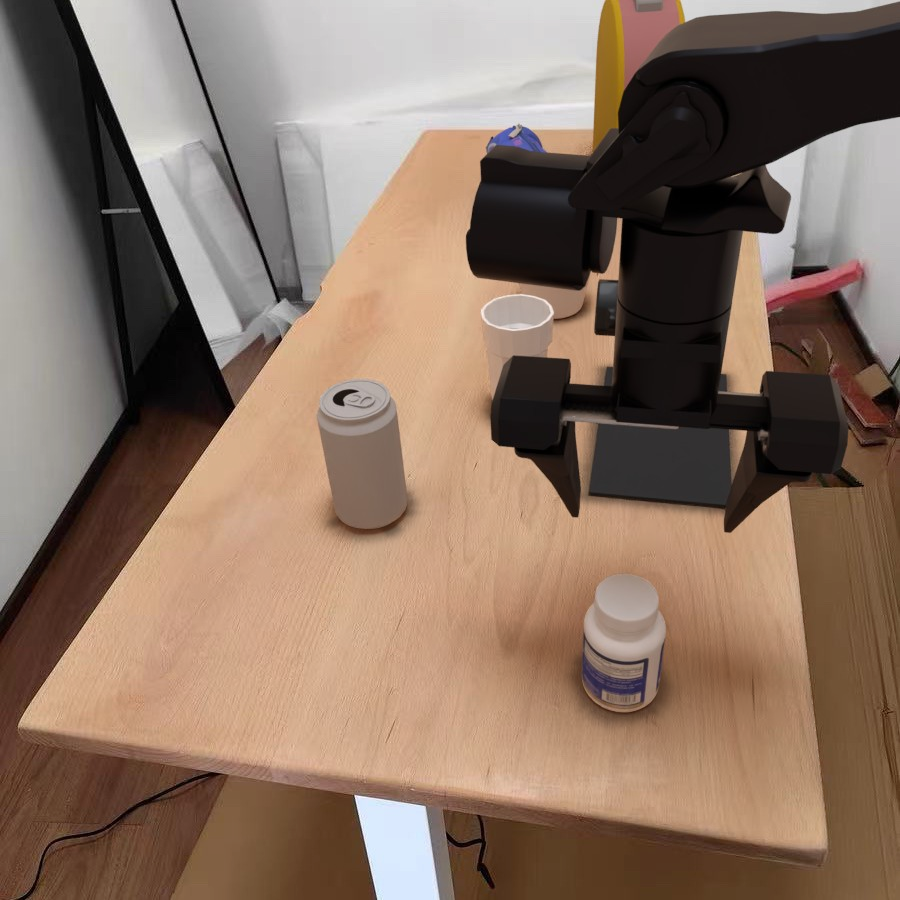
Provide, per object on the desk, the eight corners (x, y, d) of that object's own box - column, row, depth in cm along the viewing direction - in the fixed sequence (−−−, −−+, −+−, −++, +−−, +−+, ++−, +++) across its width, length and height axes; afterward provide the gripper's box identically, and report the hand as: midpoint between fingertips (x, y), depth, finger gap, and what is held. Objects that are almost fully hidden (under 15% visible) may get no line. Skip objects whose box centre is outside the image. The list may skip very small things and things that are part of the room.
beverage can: (360, 478, 79) (341, 368, 71) (421, 496, 76) (409, 384, 69) (321, 523, 75) (297, 410, 67) (385, 543, 72) (368, 429, 65)
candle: (579, 283, 105) (581, 234, 101) (601, 319, 98) (604, 268, 94) (507, 292, 105) (506, 244, 101) (524, 329, 98) (523, 279, 94)
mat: (606, 369, 90) (606, 366, 90) (725, 377, 88) (726, 374, 88) (588, 495, 75) (588, 491, 75) (732, 509, 73) (732, 505, 72)
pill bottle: (612, 639, 63) (619, 553, 57) (673, 680, 60) (687, 593, 54) (565, 684, 60) (567, 597, 55) (627, 729, 57) (636, 642, 51)
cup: (478, 396, 88) (473, 300, 81) (541, 385, 89) (541, 289, 82) (495, 434, 83) (490, 335, 76) (561, 422, 84) (563, 323, 77)
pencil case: (485, 184, 132) (483, 120, 126) (540, 177, 133) (540, 113, 127) (522, 244, 115) (521, 174, 109) (585, 235, 116) (587, 165, 110)
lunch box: (675, 203, 122) (697, -3, 105) (610, 207, 122) (622, 2, 106) (648, 151, 138) (663, -35, 122) (591, 155, 139) (599, -30, 122)
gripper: (848, 234, 48) (797, 452, 58) (517, 225, 52) (521, 430, 62) (880, 338, 40) (814, 573, 50) (483, 317, 44) (493, 538, 53)
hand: (650, 520), depth 54 cm, fingers open, 9 cm apart
